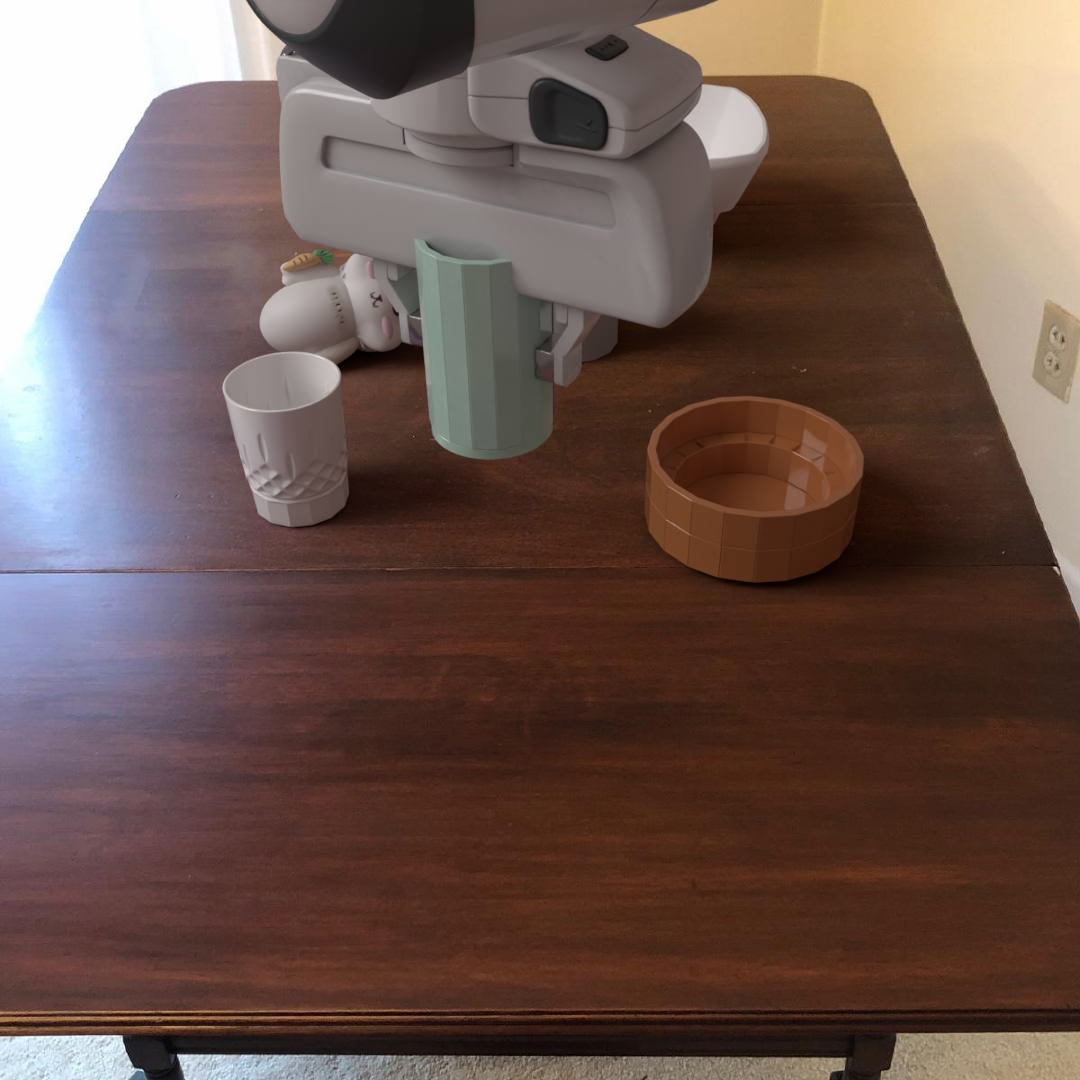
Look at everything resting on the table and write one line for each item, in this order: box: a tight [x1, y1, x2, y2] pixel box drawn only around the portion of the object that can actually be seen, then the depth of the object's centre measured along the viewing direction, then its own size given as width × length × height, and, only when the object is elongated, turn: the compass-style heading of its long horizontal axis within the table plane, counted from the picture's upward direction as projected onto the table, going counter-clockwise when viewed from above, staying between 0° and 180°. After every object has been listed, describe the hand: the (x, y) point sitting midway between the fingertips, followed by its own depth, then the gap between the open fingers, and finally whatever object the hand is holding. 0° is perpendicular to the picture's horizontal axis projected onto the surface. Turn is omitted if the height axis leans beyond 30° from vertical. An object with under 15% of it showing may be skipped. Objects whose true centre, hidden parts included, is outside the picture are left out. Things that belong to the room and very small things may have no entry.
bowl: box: [683, 83, 770, 226], centre depth 119 cm, size 22×22×12 cm
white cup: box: [222, 351, 350, 528], centre depth 85 cm, size 8×8×10 cm
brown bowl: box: [643, 395, 865, 584], centre depth 83 cm, size 14×14×6 cm
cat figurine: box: [259, 248, 417, 366], centre depth 103 cm, size 10×8×15 cm
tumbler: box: [414, 239, 555, 461], centre depth 57 cm, size 6×6×10 cm
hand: (490, 359), depth 58 cm, fingers closed on tumbler, 6 cm apart
